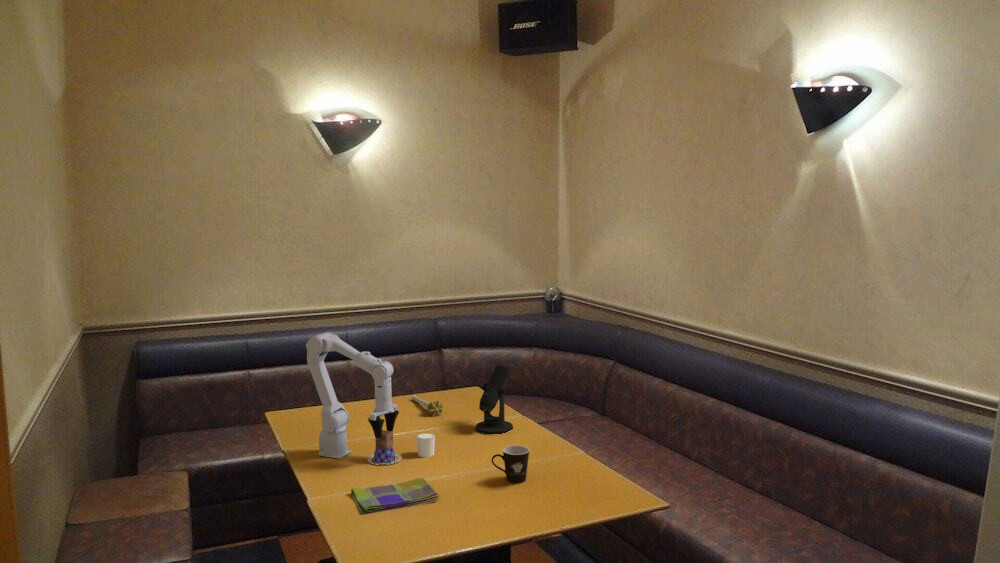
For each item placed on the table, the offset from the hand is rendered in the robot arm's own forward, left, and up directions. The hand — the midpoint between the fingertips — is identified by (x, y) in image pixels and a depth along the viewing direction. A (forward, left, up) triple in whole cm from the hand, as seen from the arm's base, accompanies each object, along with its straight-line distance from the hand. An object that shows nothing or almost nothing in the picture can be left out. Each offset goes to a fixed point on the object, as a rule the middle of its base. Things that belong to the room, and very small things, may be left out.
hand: (384, 434), depth 255 cm
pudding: (0, 0, -10) cm, 10 cm away
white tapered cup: (+11, +10, -9) cm, 18 cm away
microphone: (+22, +46, -9) cm, 52 cm away
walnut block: (0, 0, -4) cm, 4 cm away
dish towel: (+20, -26, -10) cm, 34 cm away
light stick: (-17, +60, -10) cm, 63 cm away
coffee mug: (+48, +1, -9) cm, 49 cm away
